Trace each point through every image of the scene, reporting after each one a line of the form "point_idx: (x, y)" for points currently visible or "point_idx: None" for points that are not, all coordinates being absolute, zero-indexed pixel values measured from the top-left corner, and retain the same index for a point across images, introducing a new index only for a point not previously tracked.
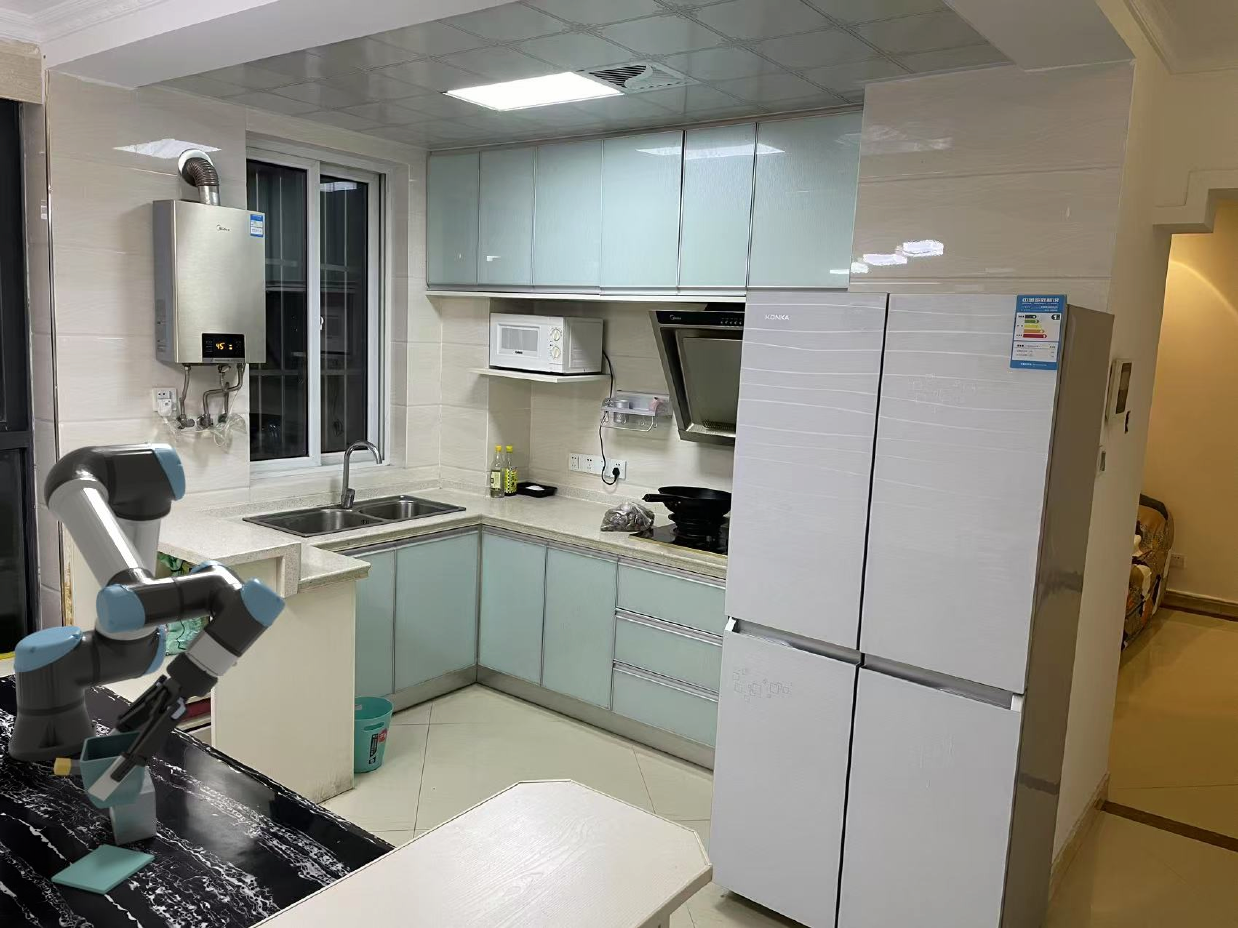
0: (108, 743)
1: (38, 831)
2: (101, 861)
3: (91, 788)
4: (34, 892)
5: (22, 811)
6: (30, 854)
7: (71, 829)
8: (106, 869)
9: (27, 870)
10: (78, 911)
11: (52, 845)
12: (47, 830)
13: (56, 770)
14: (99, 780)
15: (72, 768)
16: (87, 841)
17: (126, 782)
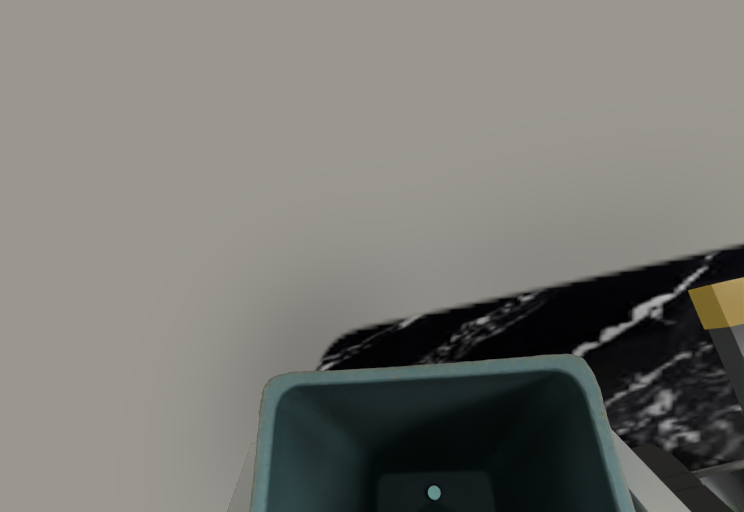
0: (593, 495)
1: (647, 313)
2: None
3: (253, 453)
4: (402, 354)
5: (741, 265)
6: (549, 318)
7: (656, 378)
8: (437, 490)
9: (487, 326)
10: None
11: (582, 352)
12: (652, 329)
13: (698, 289)
14: (236, 489)
15: (725, 334)
16: None
17: None
